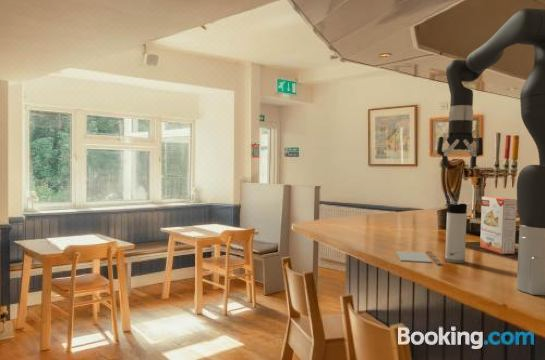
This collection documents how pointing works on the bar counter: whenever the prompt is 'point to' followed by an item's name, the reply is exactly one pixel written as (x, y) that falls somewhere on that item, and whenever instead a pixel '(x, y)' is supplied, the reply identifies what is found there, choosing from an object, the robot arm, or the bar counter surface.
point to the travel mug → (456, 233)
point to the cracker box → (498, 224)
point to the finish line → (434, 258)
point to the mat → (413, 257)
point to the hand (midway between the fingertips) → (458, 167)
